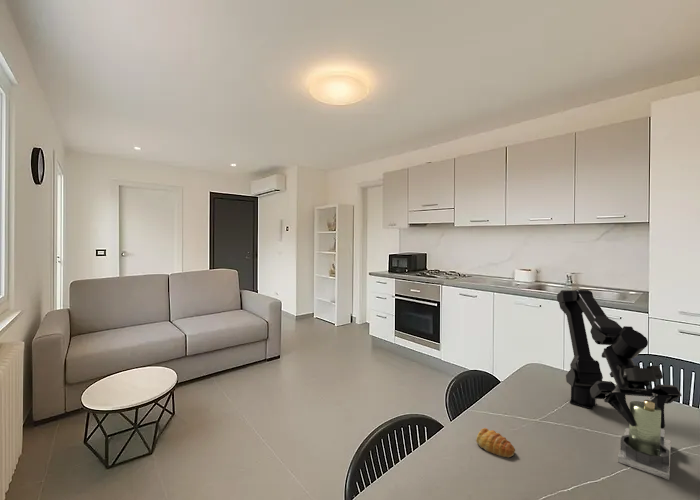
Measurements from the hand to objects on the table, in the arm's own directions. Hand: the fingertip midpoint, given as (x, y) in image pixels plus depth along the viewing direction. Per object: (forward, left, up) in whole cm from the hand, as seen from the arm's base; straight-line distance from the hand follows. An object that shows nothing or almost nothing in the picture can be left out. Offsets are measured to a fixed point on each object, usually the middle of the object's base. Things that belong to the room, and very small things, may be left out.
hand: (648, 426), depth 85 cm
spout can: (-1, +1, -7) cm, 7 cm away
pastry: (-30, -19, -10) cm, 37 cm away
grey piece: (-1, +5, -9) cm, 11 cm away
